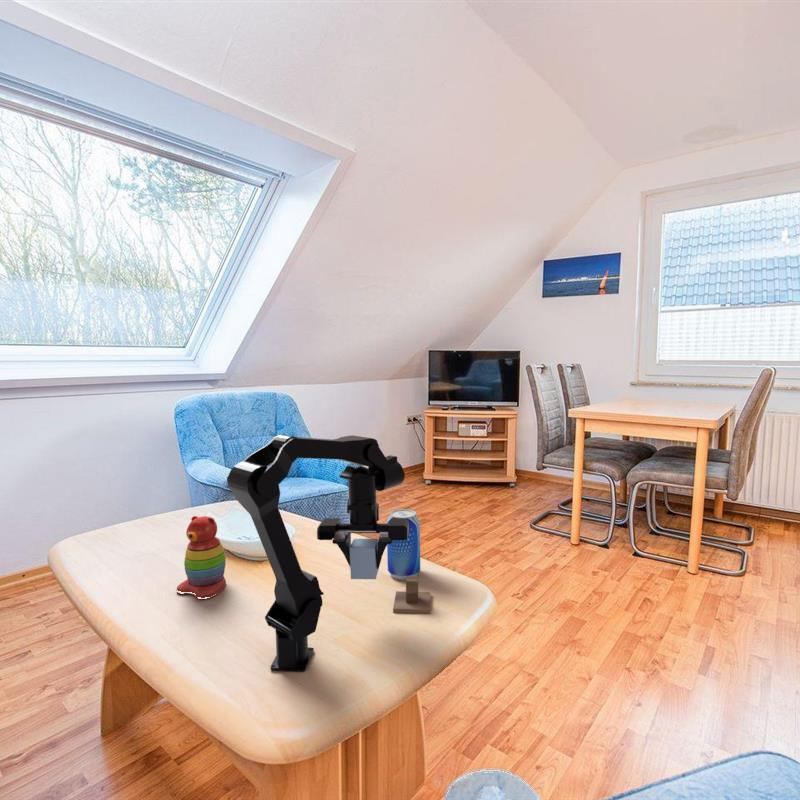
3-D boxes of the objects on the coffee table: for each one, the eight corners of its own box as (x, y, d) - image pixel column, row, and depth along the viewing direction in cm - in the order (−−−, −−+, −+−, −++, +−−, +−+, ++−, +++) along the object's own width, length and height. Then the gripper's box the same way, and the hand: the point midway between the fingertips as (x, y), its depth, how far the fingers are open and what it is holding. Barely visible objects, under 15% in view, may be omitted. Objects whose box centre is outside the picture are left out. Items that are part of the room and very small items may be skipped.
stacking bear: (172, 593, 119) (167, 521, 117) (205, 575, 128) (201, 508, 127) (205, 602, 115) (201, 527, 113) (237, 583, 124) (233, 513, 122)
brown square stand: (429, 613, 108) (429, 587, 107) (393, 612, 109) (392, 586, 108) (430, 595, 116) (430, 571, 115) (396, 594, 117) (395, 570, 116)
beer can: (423, 568, 130) (423, 509, 129) (416, 583, 122) (415, 519, 121) (392, 565, 133) (391, 507, 131) (383, 579, 125) (382, 517, 123)
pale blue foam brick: (375, 579, 102) (374, 548, 102) (350, 579, 103) (349, 548, 102) (378, 568, 108) (377, 538, 107) (354, 567, 108) (353, 538, 107)
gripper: (409, 485, 111) (411, 552, 112) (326, 485, 112) (329, 552, 114) (406, 500, 100) (408, 575, 101) (314, 500, 101) (318, 574, 103)
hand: (365, 567), depth 105 cm, fingers closed on pale blue foam brick, 5 cm apart
